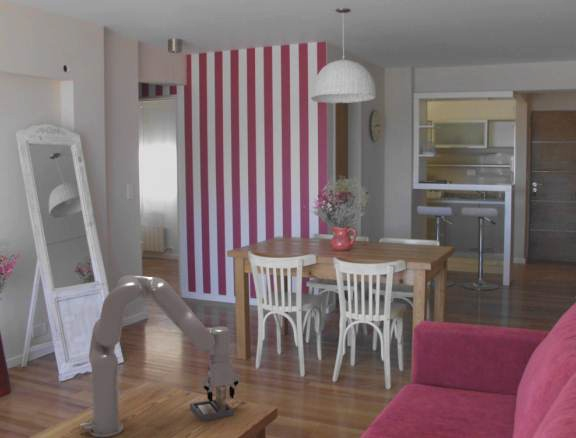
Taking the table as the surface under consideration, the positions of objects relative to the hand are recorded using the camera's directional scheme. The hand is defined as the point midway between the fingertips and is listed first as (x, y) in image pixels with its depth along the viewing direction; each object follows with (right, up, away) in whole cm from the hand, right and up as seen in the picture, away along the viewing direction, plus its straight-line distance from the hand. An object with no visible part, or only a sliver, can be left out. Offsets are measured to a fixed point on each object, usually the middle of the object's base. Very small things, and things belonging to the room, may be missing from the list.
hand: (221, 398), depth 267 cm
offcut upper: (-6, -5, -2) cm, 8 cm away
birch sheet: (0, -6, +1) cm, 6 cm away
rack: (-3, -6, -1) cm, 7 cm away
